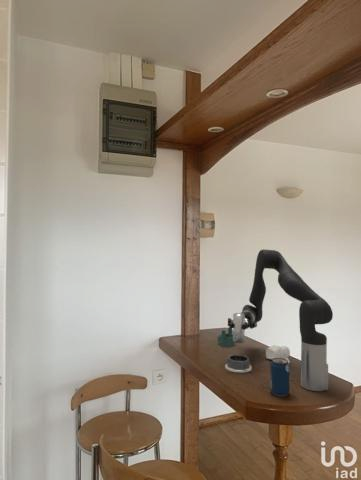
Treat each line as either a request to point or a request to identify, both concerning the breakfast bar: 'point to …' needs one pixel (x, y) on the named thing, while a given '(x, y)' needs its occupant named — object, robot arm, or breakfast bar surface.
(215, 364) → the breakfast bar surface
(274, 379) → the soda can
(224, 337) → the dark teal irregular lump
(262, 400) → the breakfast bar surface
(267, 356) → the white crumpled piece
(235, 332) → the pipe
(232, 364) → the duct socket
